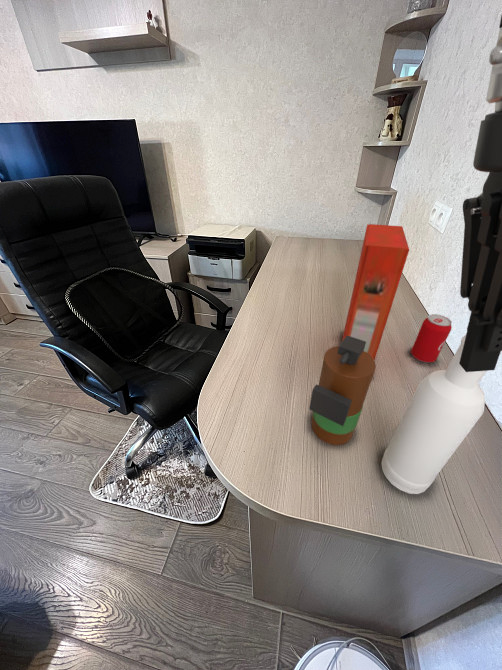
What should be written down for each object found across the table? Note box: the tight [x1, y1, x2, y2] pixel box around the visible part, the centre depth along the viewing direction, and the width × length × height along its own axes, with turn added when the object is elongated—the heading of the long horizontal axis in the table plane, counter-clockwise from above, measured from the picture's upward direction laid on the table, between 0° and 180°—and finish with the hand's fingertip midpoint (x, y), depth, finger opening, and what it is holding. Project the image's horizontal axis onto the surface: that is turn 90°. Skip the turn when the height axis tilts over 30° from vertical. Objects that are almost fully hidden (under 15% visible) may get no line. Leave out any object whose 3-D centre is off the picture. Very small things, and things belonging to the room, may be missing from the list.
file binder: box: [341, 223, 410, 361], centre depth 68 cm, size 8×17×32 cm, turn 160°
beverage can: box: [410, 313, 453, 364], centre depth 72 cm, size 6×6×12 cm
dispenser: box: [310, 335, 377, 446], centre depth 51 cm, size 10×9×22 cm
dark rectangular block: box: [308, 383, 352, 426], centre depth 45 cm, size 1×6×5 cm, turn 55°
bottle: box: [381, 332, 502, 495], centre depth 41 cm, size 8×8×30 cm
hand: (476, 366), depth 31 cm, fingers closed
